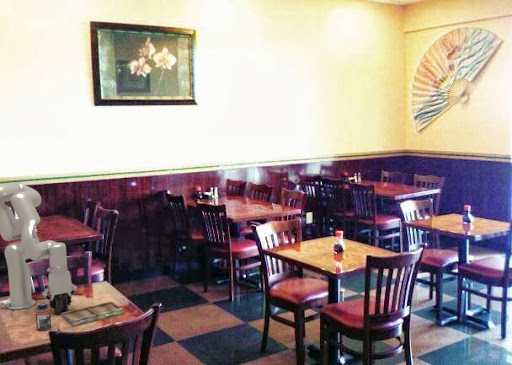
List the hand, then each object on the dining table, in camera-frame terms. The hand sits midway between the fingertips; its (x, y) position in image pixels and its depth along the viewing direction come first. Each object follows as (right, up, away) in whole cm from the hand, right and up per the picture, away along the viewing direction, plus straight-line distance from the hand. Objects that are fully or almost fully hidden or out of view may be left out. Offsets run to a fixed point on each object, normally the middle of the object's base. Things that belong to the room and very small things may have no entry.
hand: (60, 305), depth 253 cm
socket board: (+16, -4, -3) cm, 17 cm away
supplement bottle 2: (0, -3, 0) cm, 3 cm away
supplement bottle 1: (-1, -6, -18) cm, 19 cm away
